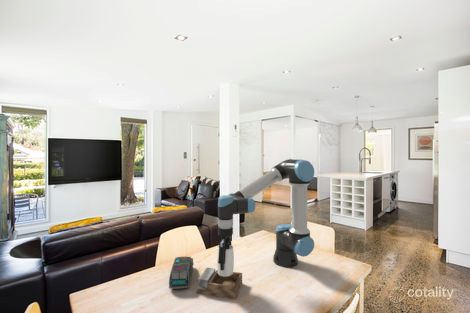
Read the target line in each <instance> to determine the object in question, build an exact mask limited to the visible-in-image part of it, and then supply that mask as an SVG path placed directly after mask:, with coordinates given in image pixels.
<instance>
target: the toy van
mask: <svg viewBox="0 0 470 313" xmlns="http://www.w3.org/2000/svg"><path fill="white" fill-rule="evenodd" d="M193 271H194V258H192V257H191V256H178V257H175V258H174V260H173V263H172V267H171V269H170V273H169V280H168V289H170V290H171V289H189V288H190V285H191V279H192V276H193V275H192V274H193Z"/></svg>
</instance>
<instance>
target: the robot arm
mask: <svg viewBox="0 0 470 313" xmlns="http://www.w3.org/2000/svg"><path fill="white" fill-rule="evenodd" d="M314 177H315V168H314V165H313V164H312V163H311V162H310V161H308V160H304V159H292V158H289V159H285V160H283V161H281V162H280V163H278V164H276V165H275V166H273V167H271V170H269V171H268V172H266V173H264V174H263V175H261V176H260V177H258V178H257V179H255V180H254V181H252V182H250V183H249V184H247V185H246V186H244V187H243V188H241V189H239V190H237V191H236V192H234V193H233V192H232V193H229V194H226V195H220V196H219V197H218V199H217V200H218V201H217V221H216V222H217V225H218V226H217V233H218V234H217V235H218V236H219V237H221V239H220V241H219V242H218V246H219V259H218V264H220V276H224V277H225V276H226V263H225V257H226V249H230V247H229V245H232V246H233V244H232V236H233V235H234V228H233V227H234V215H238V214H239V215H240V214H250V213H254V212H255V210H256V202H255V199H254V197H255V196H257V195H259V194H260V193H261V192H263V191H264V190H266V189H268V188H269V187H271V186H272V185H274V184H276V183H277V182H282V181H283V180H285V179H288V184H290V185H291V224H288V223H287V224H286V223H285V224H284V223H283V224H278V225H277V226H276V228H275V240H276V241H275V251H274V253H273V263H274V264H276V265H277V266H280V267H284V268H292V267H296V266H297V265H298V264H299V258H298V256H300V257H303V258H304V257H307V256H309V255H310V254H311V253H312V252H313V251H314V248H315V240H314V239H313V238H312V237H311V231H310V229H309V228H308V186H309V185H310V184H311V180H313V178H314ZM297 255H298V256H297Z"/></svg>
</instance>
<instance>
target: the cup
mask: <svg viewBox="0 0 470 313" xmlns="http://www.w3.org/2000/svg"><path fill="white" fill-rule="evenodd" d="M229 247H230V249H226V257H225V263H226V276H230V275H232V274H233V272H234V264H235V261H234V260H235V257H234V256H235V255H234V254H235V253H234V251H235V250H234V246H233V244H232V245H229ZM216 253H217V254H216V268H217V269H216V270H217V271H218V274H219V275H220V264H218V259H219V245H218V246H217V251H216ZM226 276H225V277H226Z"/></svg>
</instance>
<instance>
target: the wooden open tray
mask: <svg viewBox="0 0 470 313" xmlns="http://www.w3.org/2000/svg"><path fill="white" fill-rule="evenodd" d="M242 285H243V272H237V271H233V274H232V275H230V276H226V277H224V276H220V275H219V274H218V271H217V269H216V268H214V267H206V268H205V269H204V270H203V272H202V273H201V274H200V275H199V277H198V279H197V288H196V290H195V293H196V294H200V295H207V296H213V297H214V296H215V297H220V298H226V299H232V300H236V299H237V297H238V294H239V292H240V290H241V288H242Z"/></svg>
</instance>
